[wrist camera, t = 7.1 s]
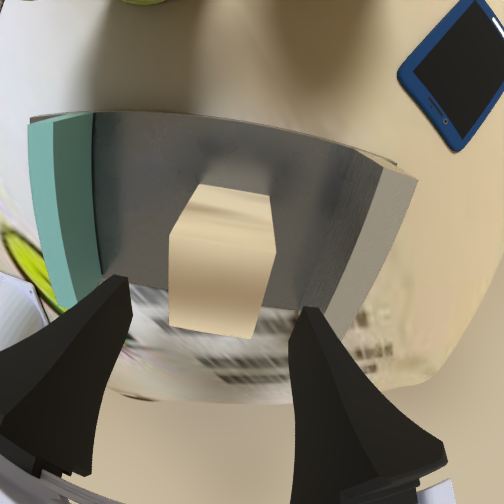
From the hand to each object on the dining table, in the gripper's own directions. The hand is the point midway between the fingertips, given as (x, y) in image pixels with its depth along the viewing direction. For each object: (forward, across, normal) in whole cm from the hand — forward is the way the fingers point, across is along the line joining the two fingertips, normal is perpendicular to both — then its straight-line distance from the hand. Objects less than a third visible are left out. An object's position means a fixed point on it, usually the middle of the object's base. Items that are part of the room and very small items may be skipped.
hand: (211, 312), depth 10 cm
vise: (+8, +3, 0) cm, 9 cm away
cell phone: (+9, -14, -16) cm, 23 cm away
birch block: (+7, 0, 0) cm, 7 cm away
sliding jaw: (+7, +10, 0) cm, 12 cm away
